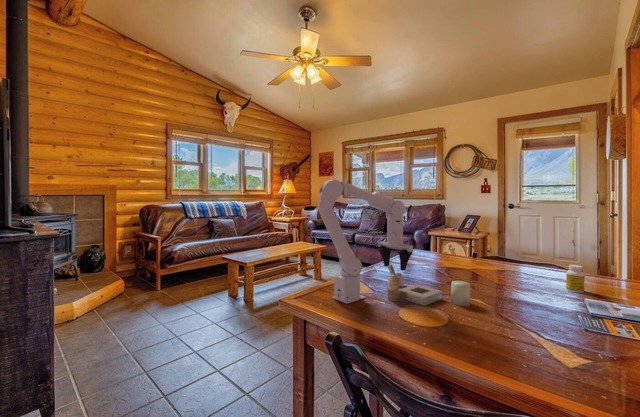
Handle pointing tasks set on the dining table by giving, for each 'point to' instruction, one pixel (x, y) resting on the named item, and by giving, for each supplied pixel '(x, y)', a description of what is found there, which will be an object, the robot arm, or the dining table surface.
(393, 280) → the oak peg
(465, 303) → the pale green rounded block
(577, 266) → the supplement bottle
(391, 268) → the lighter
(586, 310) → the dining table surface
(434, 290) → the beige square frame
